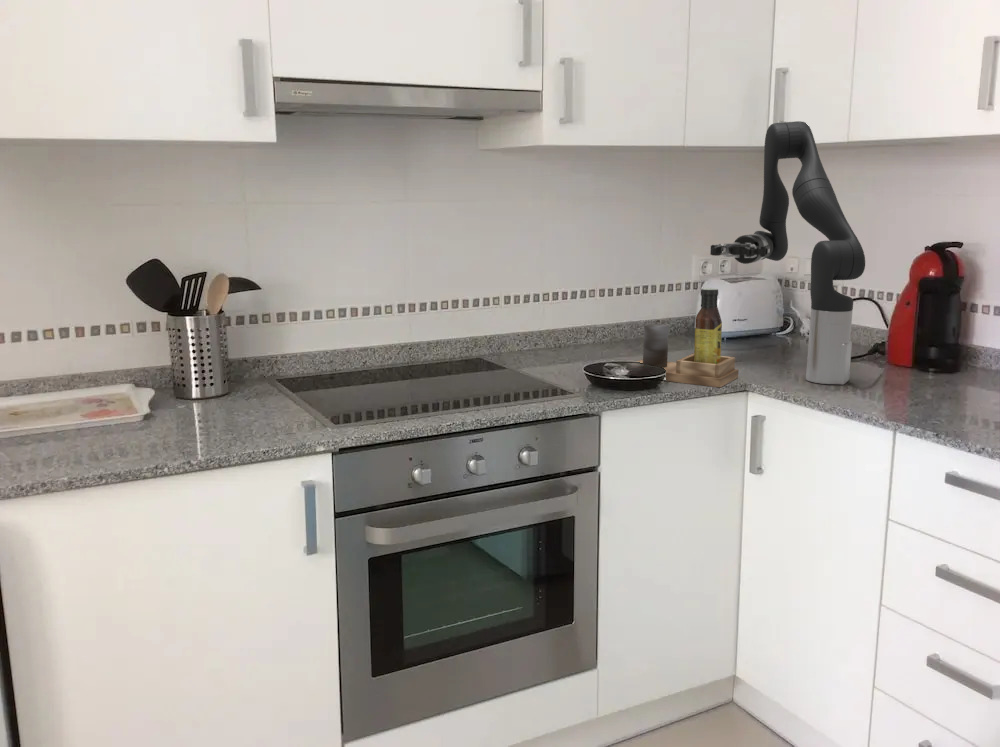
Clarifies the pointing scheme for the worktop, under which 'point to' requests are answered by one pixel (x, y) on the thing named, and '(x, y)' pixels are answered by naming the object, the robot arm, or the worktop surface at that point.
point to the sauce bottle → (708, 329)
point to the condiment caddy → (684, 361)
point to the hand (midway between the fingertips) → (731, 251)
